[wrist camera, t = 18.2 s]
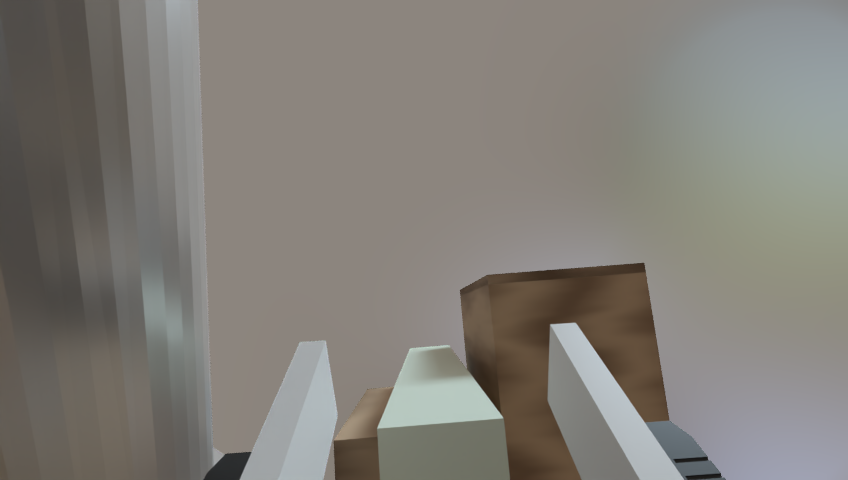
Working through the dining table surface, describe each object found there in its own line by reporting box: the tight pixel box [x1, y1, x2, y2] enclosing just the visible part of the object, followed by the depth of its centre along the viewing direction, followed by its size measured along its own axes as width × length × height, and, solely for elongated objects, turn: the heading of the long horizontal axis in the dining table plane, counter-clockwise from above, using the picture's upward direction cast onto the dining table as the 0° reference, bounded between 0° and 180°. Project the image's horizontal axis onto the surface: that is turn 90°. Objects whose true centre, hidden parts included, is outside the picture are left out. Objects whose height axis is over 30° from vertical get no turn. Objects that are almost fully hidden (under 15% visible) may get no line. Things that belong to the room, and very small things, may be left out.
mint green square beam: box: [377, 345, 510, 480], centre depth 29 cm, size 4×32×4 cm, turn 0°
